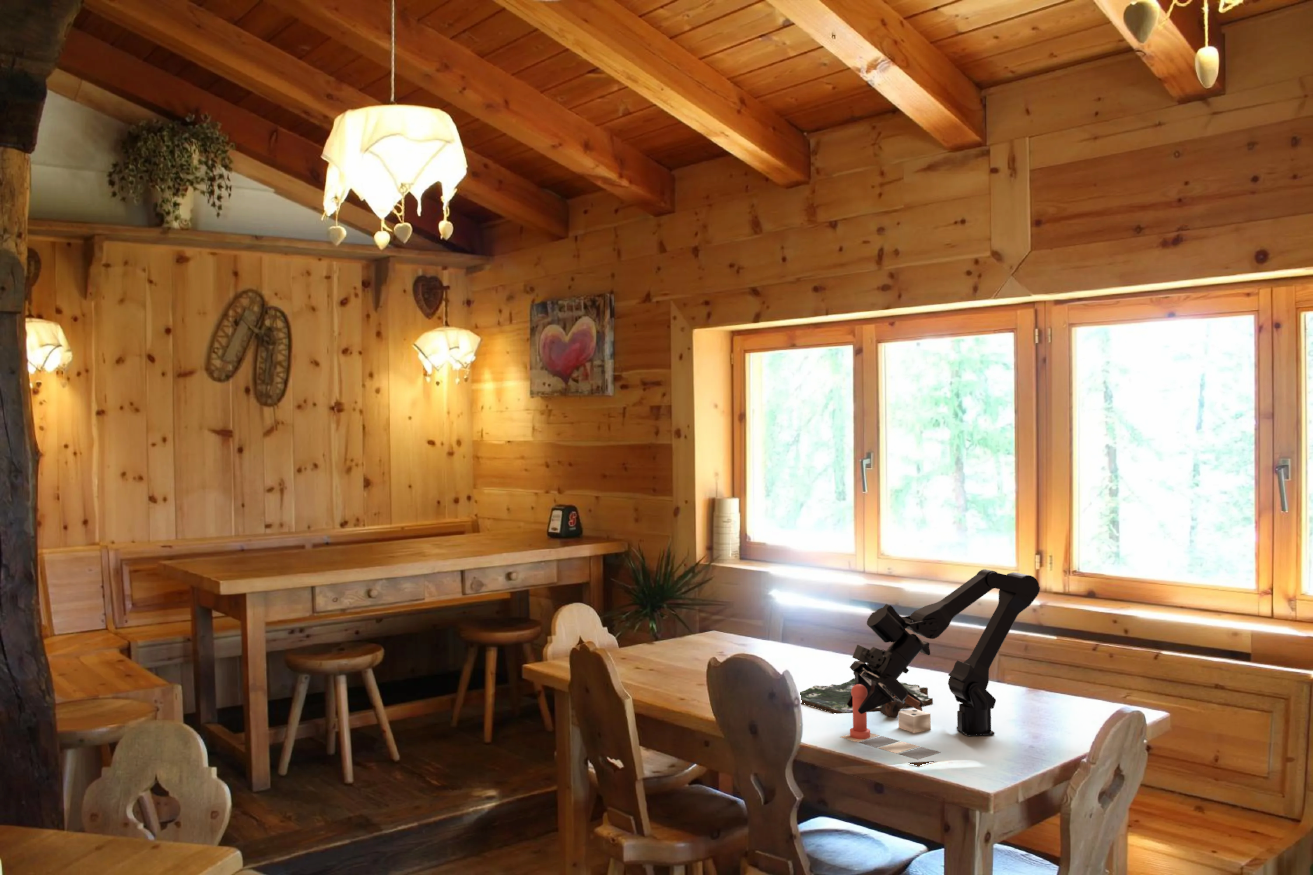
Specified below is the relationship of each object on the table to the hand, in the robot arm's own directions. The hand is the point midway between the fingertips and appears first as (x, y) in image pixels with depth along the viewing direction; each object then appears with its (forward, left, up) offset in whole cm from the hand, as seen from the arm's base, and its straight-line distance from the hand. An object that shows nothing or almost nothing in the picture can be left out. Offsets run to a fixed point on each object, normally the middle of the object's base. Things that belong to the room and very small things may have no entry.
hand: (853, 709), depth 230 cm
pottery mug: (-17, -17, -8) cm, 25 cm away
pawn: (-1, 0, -6) cm, 6 cm away
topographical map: (-16, -37, -8) cm, 41 cm away
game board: (-6, +7, -7) cm, 12 cm away
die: (-16, -4, -7) cm, 18 cm away
